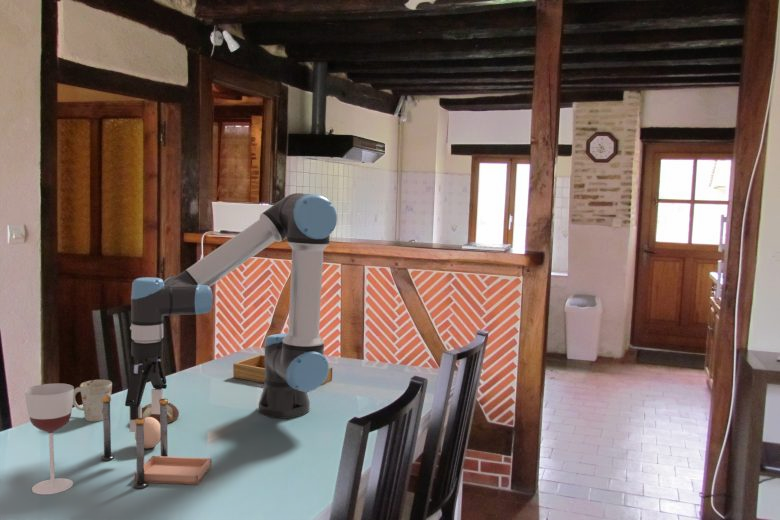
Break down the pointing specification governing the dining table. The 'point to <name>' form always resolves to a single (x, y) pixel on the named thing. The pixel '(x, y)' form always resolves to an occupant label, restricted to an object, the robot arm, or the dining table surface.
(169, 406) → the bread
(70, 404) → the wineglass
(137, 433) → the pole
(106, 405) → the pole
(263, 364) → the tray
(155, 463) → the tray
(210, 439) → the dining table surface
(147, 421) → the egg
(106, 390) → the mug
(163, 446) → the pole corner
